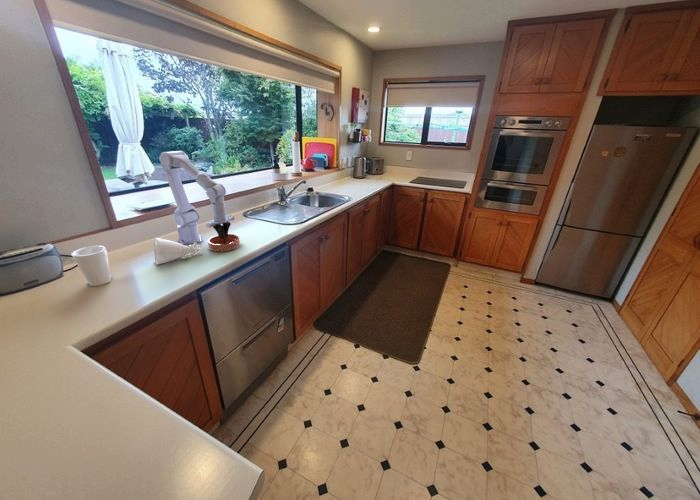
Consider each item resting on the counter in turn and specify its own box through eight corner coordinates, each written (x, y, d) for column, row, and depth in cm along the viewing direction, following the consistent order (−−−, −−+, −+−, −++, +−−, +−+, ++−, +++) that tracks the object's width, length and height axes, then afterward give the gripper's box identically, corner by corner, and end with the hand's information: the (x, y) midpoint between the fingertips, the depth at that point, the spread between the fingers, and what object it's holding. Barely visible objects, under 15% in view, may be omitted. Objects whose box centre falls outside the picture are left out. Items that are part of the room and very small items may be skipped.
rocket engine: (202, 232, 130) (156, 232, 118) (207, 254, 126) (159, 256, 114) (197, 245, 138) (153, 246, 126) (201, 266, 134) (156, 269, 122)
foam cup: (91, 277, 109) (79, 247, 104) (119, 274, 113) (109, 244, 107) (79, 289, 101) (65, 257, 96) (110, 285, 104) (99, 254, 99)
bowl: (211, 254, 131) (210, 246, 130) (207, 244, 142) (205, 236, 141) (243, 248, 139) (241, 241, 137) (236, 239, 149) (235, 232, 148)
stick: (223, 244, 138) (219, 225, 134) (222, 243, 140) (219, 224, 135) (226, 244, 139) (223, 224, 135) (226, 242, 140) (223, 223, 136)
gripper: (211, 215, 125) (216, 243, 130) (237, 208, 137) (240, 234, 142) (201, 213, 128) (206, 240, 133) (227, 206, 140) (231, 231, 145)
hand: (223, 237), depth 138 cm, fingers closed on stick, 2 cm apart
